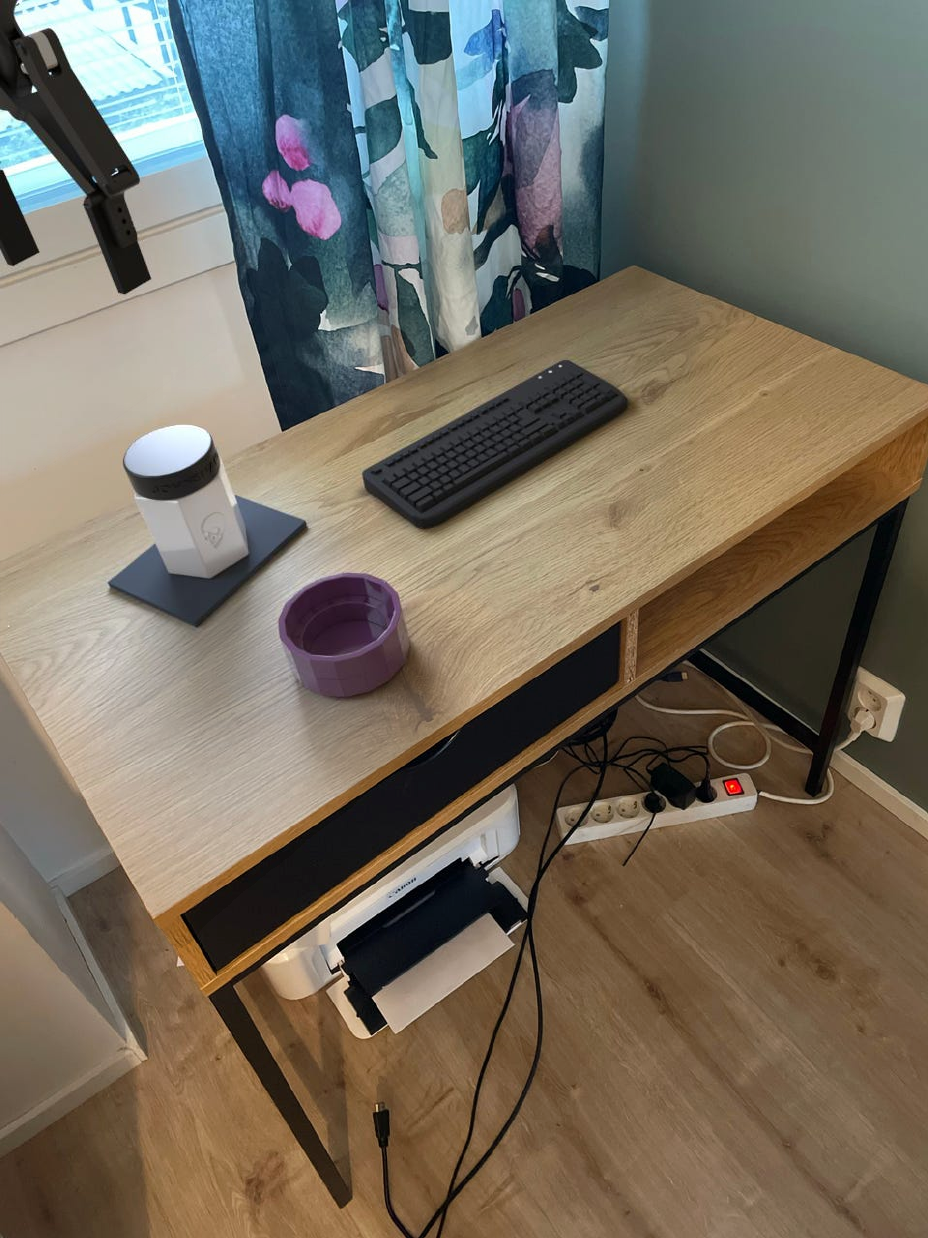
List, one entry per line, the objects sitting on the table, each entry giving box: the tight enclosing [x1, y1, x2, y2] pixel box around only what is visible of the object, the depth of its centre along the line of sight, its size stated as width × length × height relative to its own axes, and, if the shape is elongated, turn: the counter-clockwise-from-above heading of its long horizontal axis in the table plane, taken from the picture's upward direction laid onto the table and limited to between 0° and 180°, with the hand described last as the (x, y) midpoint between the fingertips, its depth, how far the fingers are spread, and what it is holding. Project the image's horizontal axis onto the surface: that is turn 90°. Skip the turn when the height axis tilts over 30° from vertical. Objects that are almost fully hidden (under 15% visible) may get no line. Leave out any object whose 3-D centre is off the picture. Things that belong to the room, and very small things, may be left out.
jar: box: [122, 424, 249, 579], centre depth 84 cm, size 9×8×12 cm
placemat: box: [107, 494, 308, 628], centre depth 89 cm, size 16×12×1 cm
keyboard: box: [361, 359, 629, 530], centre depth 96 cm, size 30×11×2 cm, turn 130°
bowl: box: [277, 571, 411, 698], centre depth 76 cm, size 10×10×5 cm
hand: (77, 272), depth 71 cm, fingers open, 13 cm apart
